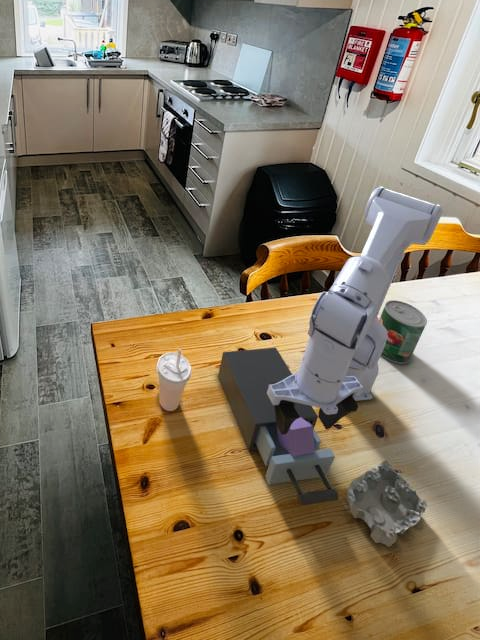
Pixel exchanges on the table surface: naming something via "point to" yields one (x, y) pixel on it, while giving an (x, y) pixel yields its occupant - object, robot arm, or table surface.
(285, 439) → the purple cube
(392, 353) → the canned tomato
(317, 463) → the grey drawer
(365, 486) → the egg carton
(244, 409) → the dark grey drawer box
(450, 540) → the table surface
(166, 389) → the smoothie
